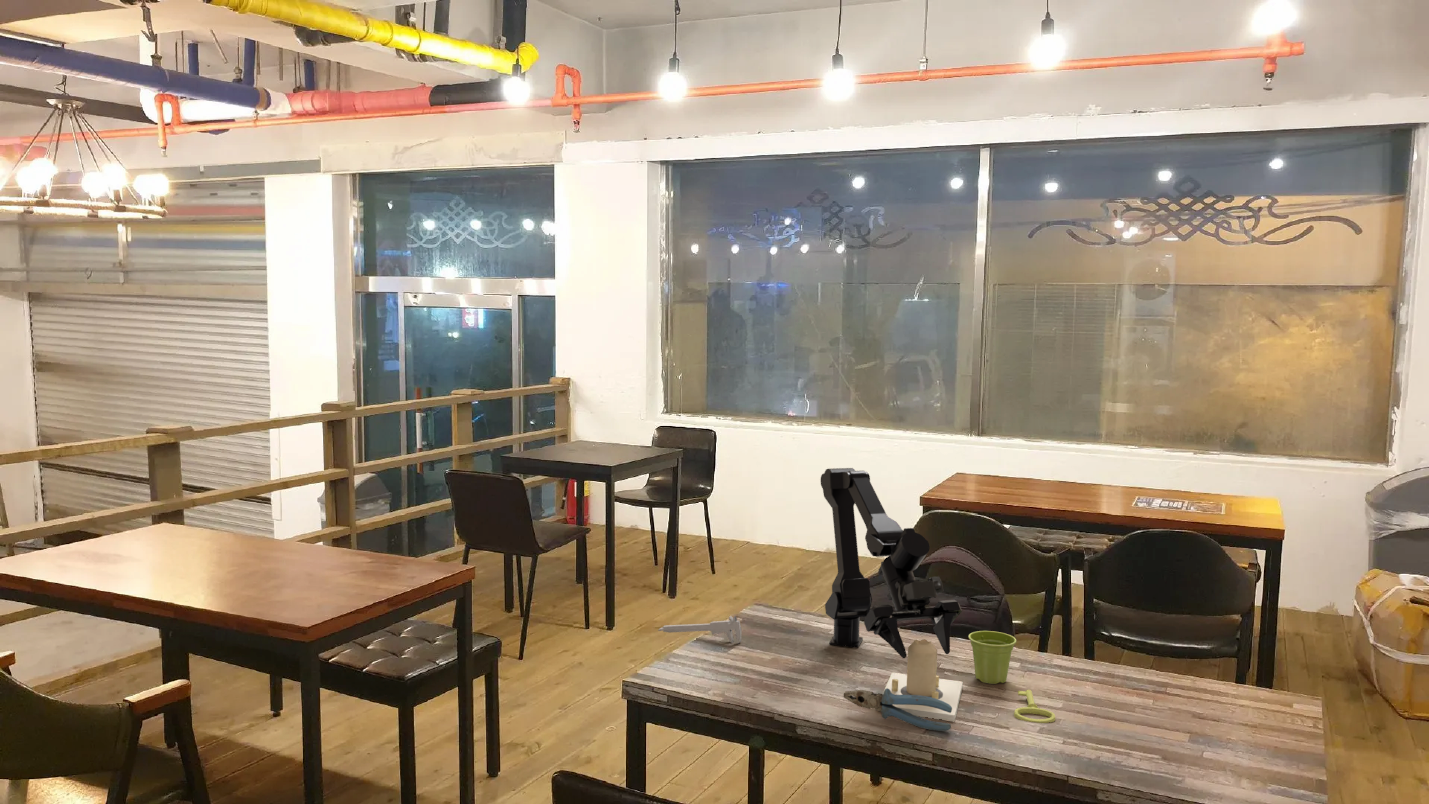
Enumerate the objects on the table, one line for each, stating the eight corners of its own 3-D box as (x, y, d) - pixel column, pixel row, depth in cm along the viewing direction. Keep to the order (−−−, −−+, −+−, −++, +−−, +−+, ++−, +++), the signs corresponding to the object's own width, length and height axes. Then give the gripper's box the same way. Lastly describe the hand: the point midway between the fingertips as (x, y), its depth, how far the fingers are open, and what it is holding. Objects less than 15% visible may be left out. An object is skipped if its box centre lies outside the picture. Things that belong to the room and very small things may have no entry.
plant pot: (963, 683, 204) (965, 641, 204) (970, 668, 213) (972, 628, 212) (1011, 690, 201) (1013, 647, 200) (1016, 675, 210) (1018, 634, 209)
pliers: (841, 713, 188) (842, 682, 187) (845, 709, 190) (846, 678, 189) (949, 736, 179) (950, 703, 178) (952, 731, 181) (953, 699, 180)
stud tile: (891, 678, 206) (892, 663, 206) (962, 687, 202) (963, 671, 202) (877, 710, 189) (878, 694, 189) (954, 721, 185) (955, 704, 185)
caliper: (741, 643, 227) (742, 616, 226) (739, 645, 226) (740, 617, 226) (659, 630, 235) (660, 603, 235) (657, 631, 234) (658, 605, 234)
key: (1029, 699, 198) (1030, 688, 198) (1059, 725, 186) (1060, 714, 185) (994, 700, 197) (995, 689, 197) (1022, 726, 185) (1022, 715, 184)
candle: (903, 694, 194) (905, 643, 193) (910, 685, 199) (912, 635, 198) (932, 699, 192) (934, 647, 191) (938, 689, 197) (940, 639, 196)
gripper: (872, 565, 194) (897, 639, 185) (958, 559, 200) (987, 631, 190) (853, 594, 202) (876, 666, 193) (937, 588, 208) (963, 658, 198)
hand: (926, 655), depth 193 cm, fingers open, 9 cm apart
